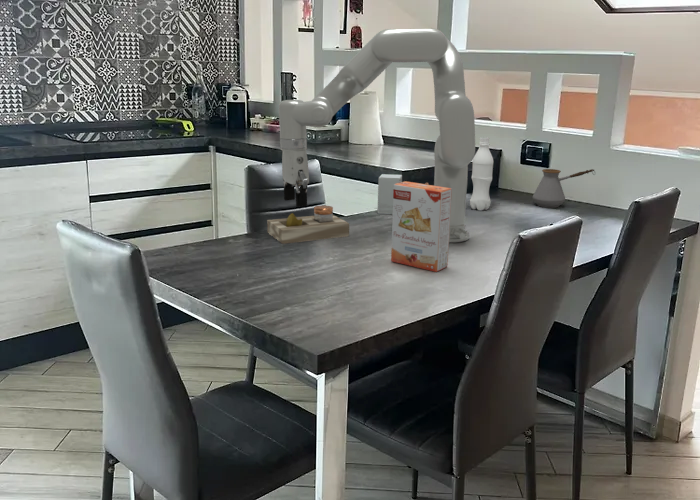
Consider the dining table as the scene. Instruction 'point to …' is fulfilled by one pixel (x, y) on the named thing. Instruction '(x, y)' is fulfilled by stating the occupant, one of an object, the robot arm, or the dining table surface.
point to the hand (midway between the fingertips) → (295, 203)
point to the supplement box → (386, 192)
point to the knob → (293, 221)
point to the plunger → (323, 213)
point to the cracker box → (421, 225)
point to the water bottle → (482, 176)
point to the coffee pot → (552, 188)
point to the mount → (307, 229)
